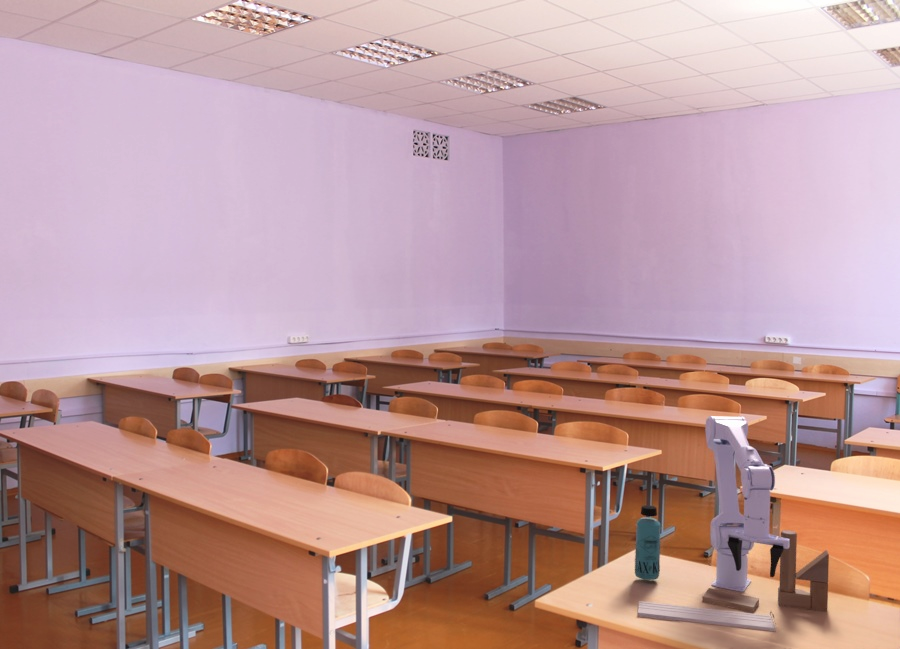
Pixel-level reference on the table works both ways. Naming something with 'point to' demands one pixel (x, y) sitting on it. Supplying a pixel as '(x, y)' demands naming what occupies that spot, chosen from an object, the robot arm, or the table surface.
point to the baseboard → (706, 616)
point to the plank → (731, 600)
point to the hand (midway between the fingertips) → (755, 572)
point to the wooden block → (811, 572)
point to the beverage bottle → (647, 545)
